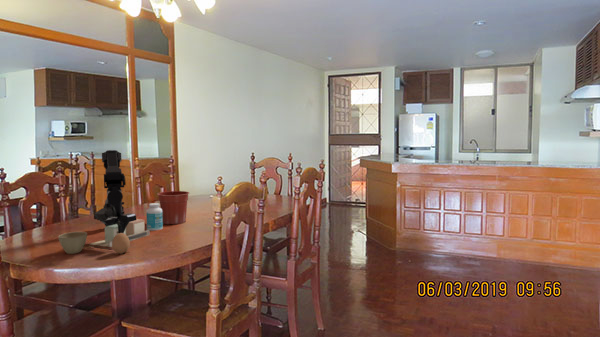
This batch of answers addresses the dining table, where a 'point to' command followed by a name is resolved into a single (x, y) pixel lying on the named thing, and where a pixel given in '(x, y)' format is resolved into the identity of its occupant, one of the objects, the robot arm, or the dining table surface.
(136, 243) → the dining table surface
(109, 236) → the pale green block
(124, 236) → the egg
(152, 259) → the dining table surface
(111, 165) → the robot arm
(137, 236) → the shelf
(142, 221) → the carton
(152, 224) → the pill bottle
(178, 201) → the flower pot
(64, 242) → the bowl
